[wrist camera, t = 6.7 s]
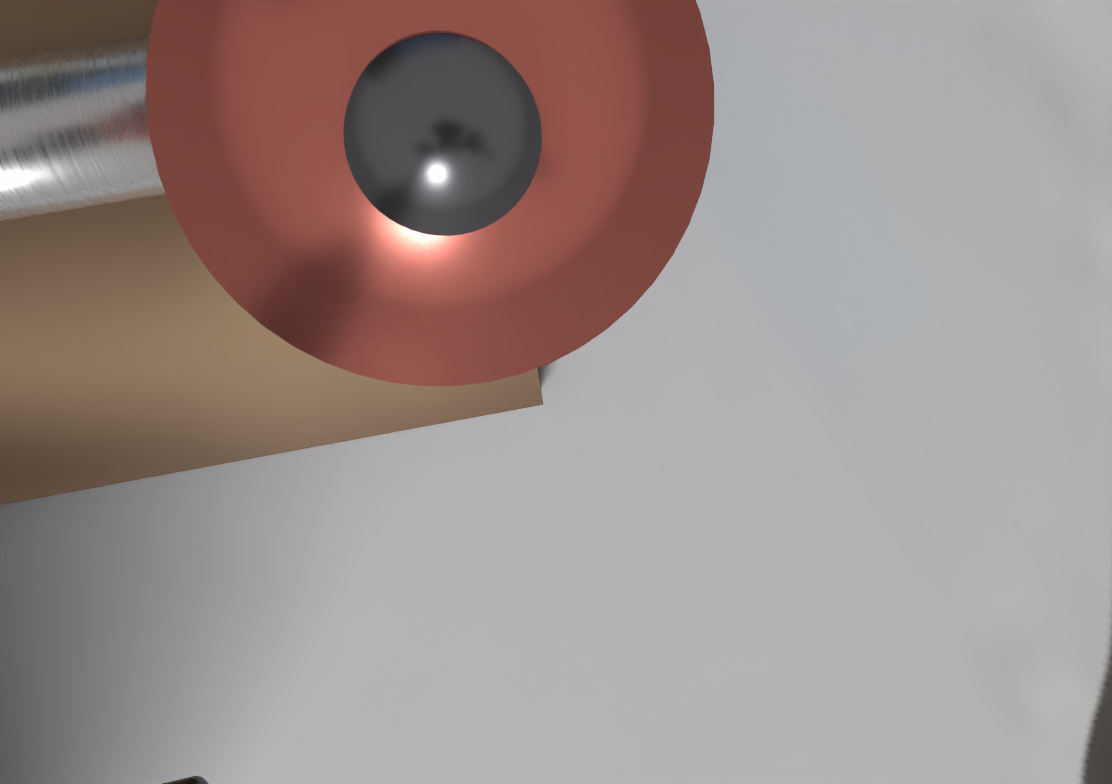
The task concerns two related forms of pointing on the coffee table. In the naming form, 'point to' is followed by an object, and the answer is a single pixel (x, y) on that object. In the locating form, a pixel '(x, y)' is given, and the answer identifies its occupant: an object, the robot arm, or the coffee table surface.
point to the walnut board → (160, 336)
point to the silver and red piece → (389, 164)
